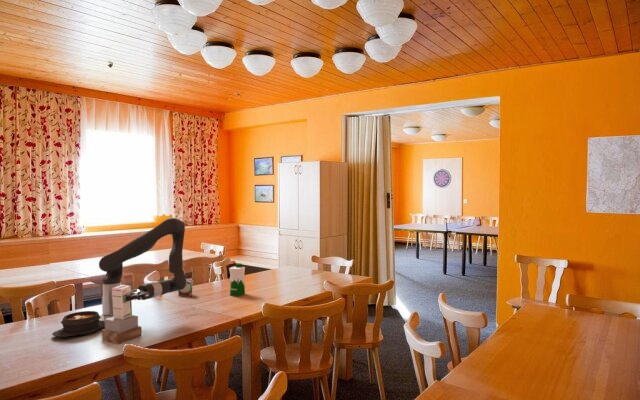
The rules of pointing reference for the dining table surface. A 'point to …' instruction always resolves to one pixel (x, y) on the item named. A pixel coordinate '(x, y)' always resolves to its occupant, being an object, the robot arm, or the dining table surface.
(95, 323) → the casserole
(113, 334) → the walnut base block
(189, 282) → the food container
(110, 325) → the white square block
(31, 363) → the dining table surface
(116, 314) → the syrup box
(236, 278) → the milk carton
